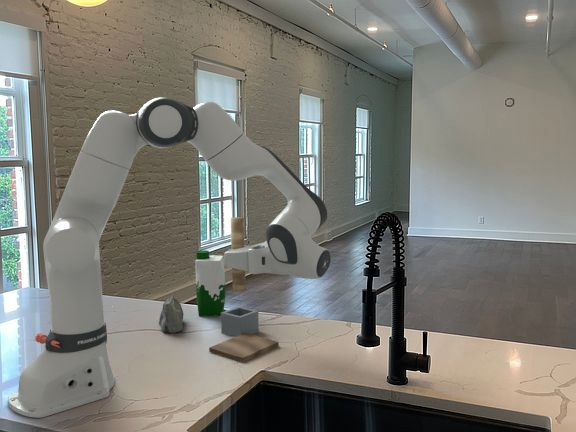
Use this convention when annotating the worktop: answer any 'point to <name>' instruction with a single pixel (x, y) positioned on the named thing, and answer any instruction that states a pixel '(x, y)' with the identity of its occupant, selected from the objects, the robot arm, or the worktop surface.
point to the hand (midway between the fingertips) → (235, 250)
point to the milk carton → (210, 284)
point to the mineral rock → (171, 316)
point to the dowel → (237, 243)
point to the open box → (239, 321)
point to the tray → (243, 347)
